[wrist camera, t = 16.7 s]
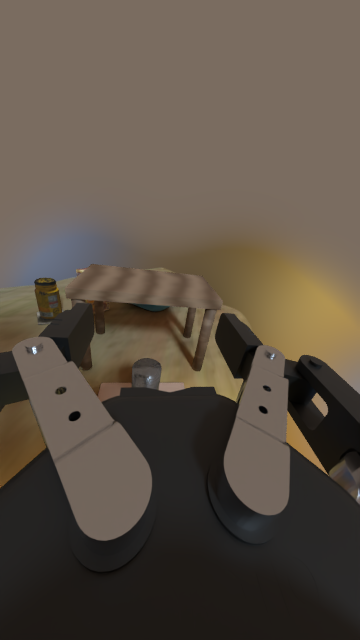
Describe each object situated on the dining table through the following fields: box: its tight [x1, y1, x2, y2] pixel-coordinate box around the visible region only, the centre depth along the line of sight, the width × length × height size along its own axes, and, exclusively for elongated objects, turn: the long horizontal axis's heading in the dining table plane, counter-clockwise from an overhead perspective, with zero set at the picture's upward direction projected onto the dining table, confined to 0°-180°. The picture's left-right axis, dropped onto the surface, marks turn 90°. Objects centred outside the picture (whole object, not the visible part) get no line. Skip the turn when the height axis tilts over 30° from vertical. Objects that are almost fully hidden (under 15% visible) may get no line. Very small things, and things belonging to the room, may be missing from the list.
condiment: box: [34, 278, 63, 325], centre depth 58 cm, size 7×8×12 cm
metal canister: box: [132, 358, 161, 390], centre depth 33 cm, size 4×4×12 cm
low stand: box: [65, 264, 223, 371], centre depth 49 cm, size 30×18×20 cm, turn 98°
